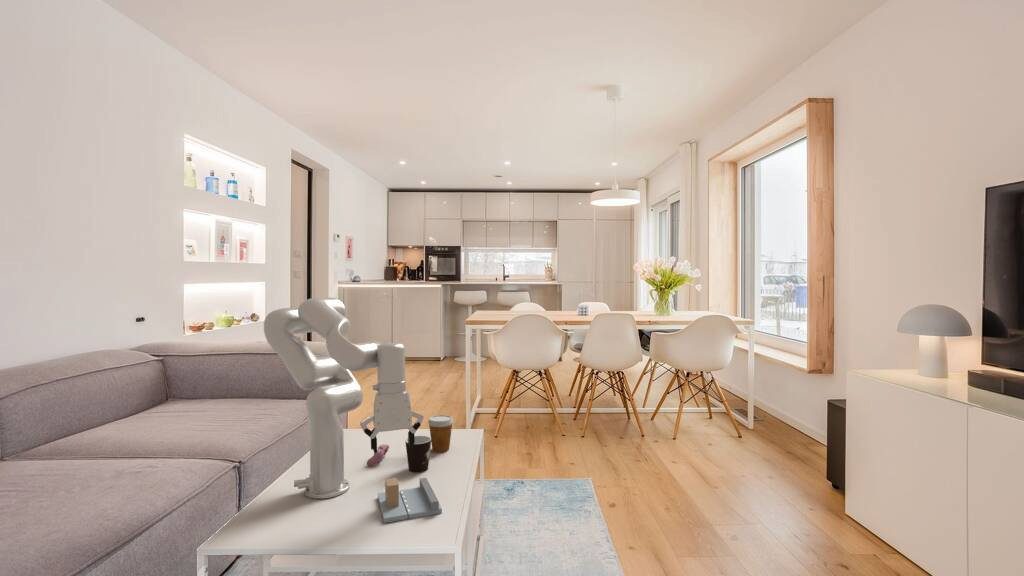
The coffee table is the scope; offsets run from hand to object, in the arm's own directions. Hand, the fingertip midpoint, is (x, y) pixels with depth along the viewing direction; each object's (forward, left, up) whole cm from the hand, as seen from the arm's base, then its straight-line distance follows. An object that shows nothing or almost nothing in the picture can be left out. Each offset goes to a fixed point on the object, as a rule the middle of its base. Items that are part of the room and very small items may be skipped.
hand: (393, 449), depth 133 cm
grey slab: (0, 0, -17) cm, 17 cm away
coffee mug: (+13, +26, -17) cm, 34 cm away
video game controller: (0, +38, -17) cm, 41 cm away
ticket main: (+7, 0, -17) cm, 18 cm away
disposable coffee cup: (+23, +41, -17) cm, 50 cm away
